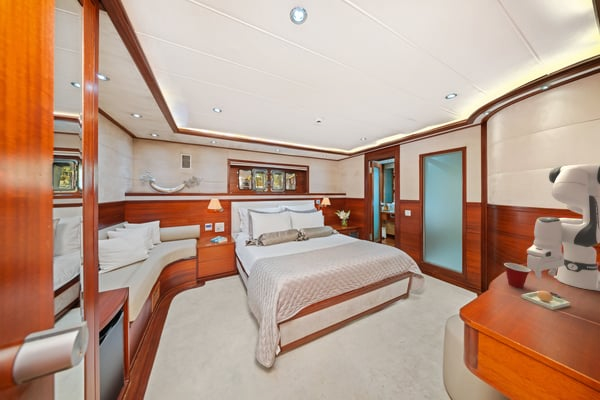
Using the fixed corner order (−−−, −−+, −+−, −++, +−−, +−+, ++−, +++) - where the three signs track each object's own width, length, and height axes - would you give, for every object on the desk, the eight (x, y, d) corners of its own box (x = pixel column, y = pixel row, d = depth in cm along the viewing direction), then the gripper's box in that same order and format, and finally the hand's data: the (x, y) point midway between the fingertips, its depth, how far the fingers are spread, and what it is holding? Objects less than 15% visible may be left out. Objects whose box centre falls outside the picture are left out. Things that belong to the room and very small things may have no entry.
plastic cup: (526, 292, 109) (527, 271, 109) (499, 284, 119) (500, 264, 118) (533, 288, 114) (534, 267, 113) (507, 280, 124) (508, 261, 123)
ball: (541, 297, 103) (541, 288, 103) (555, 302, 98) (555, 292, 98) (534, 299, 102) (534, 289, 102) (548, 304, 97) (548, 294, 97)
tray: (537, 294, 107) (538, 291, 107) (569, 306, 96) (570, 302, 96) (521, 298, 104) (521, 294, 104) (552, 310, 93) (552, 306, 93)
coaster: (545, 291, 110) (545, 289, 110) (565, 298, 103) (565, 296, 103) (537, 293, 108) (537, 291, 108) (556, 300, 101) (556, 298, 101)
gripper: (551, 245, 104) (550, 270, 105) (524, 250, 100) (522, 276, 101) (570, 249, 98) (568, 276, 99) (542, 254, 93) (540, 282, 95)
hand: (545, 276), depth 100 cm, fingers open, 8 cm apart
